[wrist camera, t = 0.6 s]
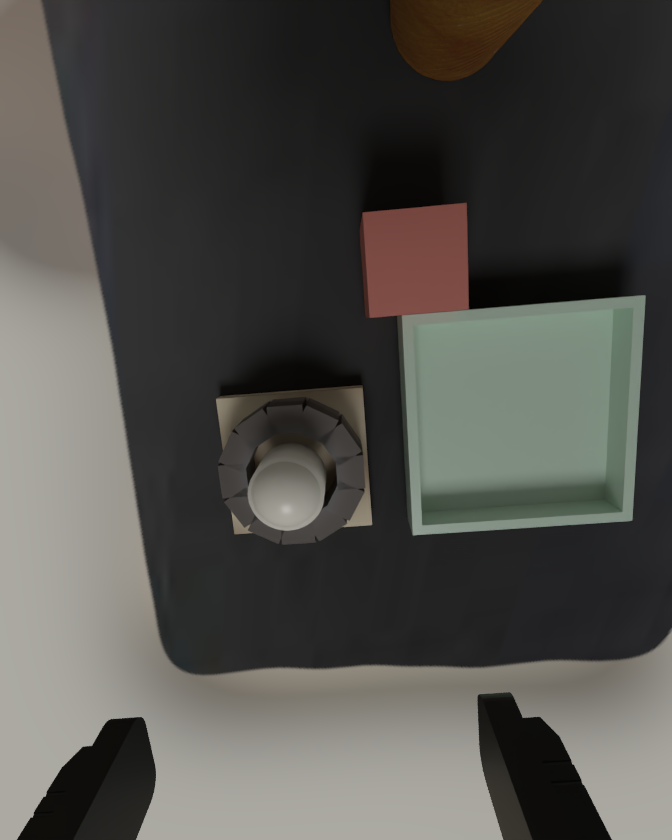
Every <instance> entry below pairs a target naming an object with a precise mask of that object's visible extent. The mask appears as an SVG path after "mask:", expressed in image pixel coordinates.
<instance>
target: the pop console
mask: <svg viewBox="0 0 672 840" xmlns="http://www.w3.org/2000/svg"><path fill="white" fill-rule="evenodd" d="M216 403H217V410H218V417H219V425H220V432H221V439H222V446H223V452H222V455H221V457H220V459H219V462H220V464H219V465H218V471H219V478H220V485H221V492H222V498H226V500H225V501H224V503H225V504H226V505H227V506H228V508H229V509H230V510H231V511H232V519H233V526H234V533H235V534H245V533H255V534H257V535H259V536H261V537H264V538H266V539H268V540H271V541H273V542H275V543H277V544H279V542H280V540H281V537H282V545H285V544H300V543H315V542H316V537H317V539H318V540H319V541H321V540H322V539H324V538H325V537H327V536H328V535H330V534H332V533H333V532H335V531H336V530H338V529H340V528H341V527H349V526H364V525H372V516H371V501H370V487H369V473H368V458H367V444H366V429H365V415H364V401H363V387H362V385H358V386H345V387H333V388H320V389H307V390H294V391H281V392H268V393H255V394H242V395H229V396H220V397H218V398H217V399H216ZM284 443H298V444H302V445H305V446H307V447H309V448H311V449H312V450H314V451H315V452H316V453H317V454H318V455H319V456H320V458H321V459H322V461H323V463H324V465H325V469H326V486H325V495H324V503H323V507H322V509H321V511H320V513H319V515H318V516H317V517H316V518H315V519H314V520H313V521H312V522H311V523H310V524H308V525H307V526H305V527H302V528H300V529H296V530H290V531H284V530H278V529H274V528H272V527H269V526H267V525H266V524H264V523H263V522H262V521H260V520H259V519H258V518H257V517H256V515H255V514H254V513H253V511H252V509H251V507H250V504H249V500H248V486H249V483H250V480H251V478H252V476H253V474H254V473H255V471H256V469H257V467H258V466H259V464H260V462H261V460H262V459H263V457H264V456H265V454H266V453H267V452H268V451H270V450H271V449H272V448H274V447H276V446H278V445H280V444H284Z"/></svg>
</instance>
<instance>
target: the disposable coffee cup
mask: <svg viewBox="0 0 672 840" xmlns="http://www.w3.org/2000/svg"><path fill="white" fill-rule="evenodd" d="M542 1H543V0H390V10H391V13H390V18H391V29H392V34H393V38H394V41H395V44H396V46H397V48H398V51H399V52H400V54H401V55H402V57H403V58H404V60H405V61H406V62H407V63H408V64H409V65H410V66H411V67H412V68H413V69H414V70H415V71H417V72H418V73H420V74H421V75H423V76H425V77H429V78H432V79H435V80H441V81H453V80H459V79H462V78H465V77H468V76H470V75H471V74H473V73H475V72H477V71H479V70H480V69H481V68H482V67H483V66H484V65H486V64H487V63H488V62H489V61H490V59H491V58H492V57H493V56H494V54H495V53H496V52H497V51H498V50H499V49H500V48H501V47H502V46H503V44H504V43H505V42H506V41H507V40H508V39H509V38H510V36H511V35H512V34H513V33H514V32H515V31H516V30H517V29H518V28H519V27H520V26H521V24H522V23H523V22H524V21H525V20H526V19H527V17H528V16H529V15H530V14H531V13H532V12H533V11H534V9H535V8H536V7H537V6H538V5H539V4H540V3H541V2H542Z"/></svg>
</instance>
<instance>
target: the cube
mask: <svg viewBox="0 0 672 840" xmlns="http://www.w3.org/2000/svg"><path fill="white" fill-rule="evenodd" d="M360 244H361V259H362V274H363V288H364V303H365V317H368V318H373V317H385V316H397V315H408V314H420V313H432V312H444V311H455V310H467V309H469V290H468V244H467V203H460V204H449V205H438V206H427V207H417V208H406V209H395V210H384V211H374V212H363V214H362V219H361V224H360Z"/></svg>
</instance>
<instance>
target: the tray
mask: <svg viewBox="0 0 672 840" xmlns="http://www.w3.org/2000/svg"><path fill="white" fill-rule="evenodd" d="M645 296H646V295H643V296H626V297H612V298H600V299H588V300H576V301H564V302H552V303H539V304H527V305H515V306H503V307H491V308H479V309H467V310H455V311H444V312H432V313H420V314H408V315H397V327H398V346H399V365H400V385H401V404H402V423H403V443H404V462H405V481H406V501H407V518H408V521H409V524H410V528H411V531H412V534H413V535H424V534H439V533H454V532H469V531H484V530H500V529H515V528H530V527H545V526H560V525H575V524H591V523H606V522H621V521H632V516H633V499H634V482H635V465H636V448H637V431H638V414H639V398H640V381H641V364H642V347H643V330H644V313H645Z"/></svg>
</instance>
